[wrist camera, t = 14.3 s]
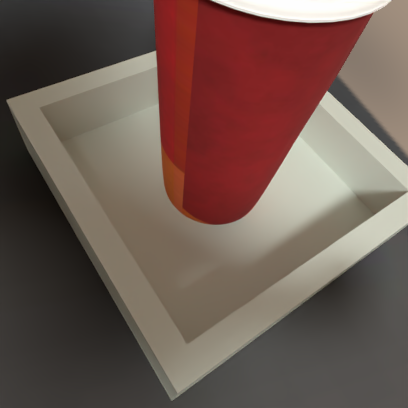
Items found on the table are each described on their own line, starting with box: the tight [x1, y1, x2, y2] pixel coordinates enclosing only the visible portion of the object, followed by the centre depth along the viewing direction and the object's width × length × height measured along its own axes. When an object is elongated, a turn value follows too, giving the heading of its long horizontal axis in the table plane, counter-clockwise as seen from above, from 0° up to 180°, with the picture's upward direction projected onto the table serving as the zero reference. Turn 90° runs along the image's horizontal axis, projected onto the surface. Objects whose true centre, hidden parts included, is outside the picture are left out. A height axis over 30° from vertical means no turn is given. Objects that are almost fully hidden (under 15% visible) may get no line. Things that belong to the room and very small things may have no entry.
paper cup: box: [154, 0, 392, 225], centre depth 16 cm, size 8×8×14 cm
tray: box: [6, 51, 408, 401], centre depth 21 cm, size 16×16×4 cm
